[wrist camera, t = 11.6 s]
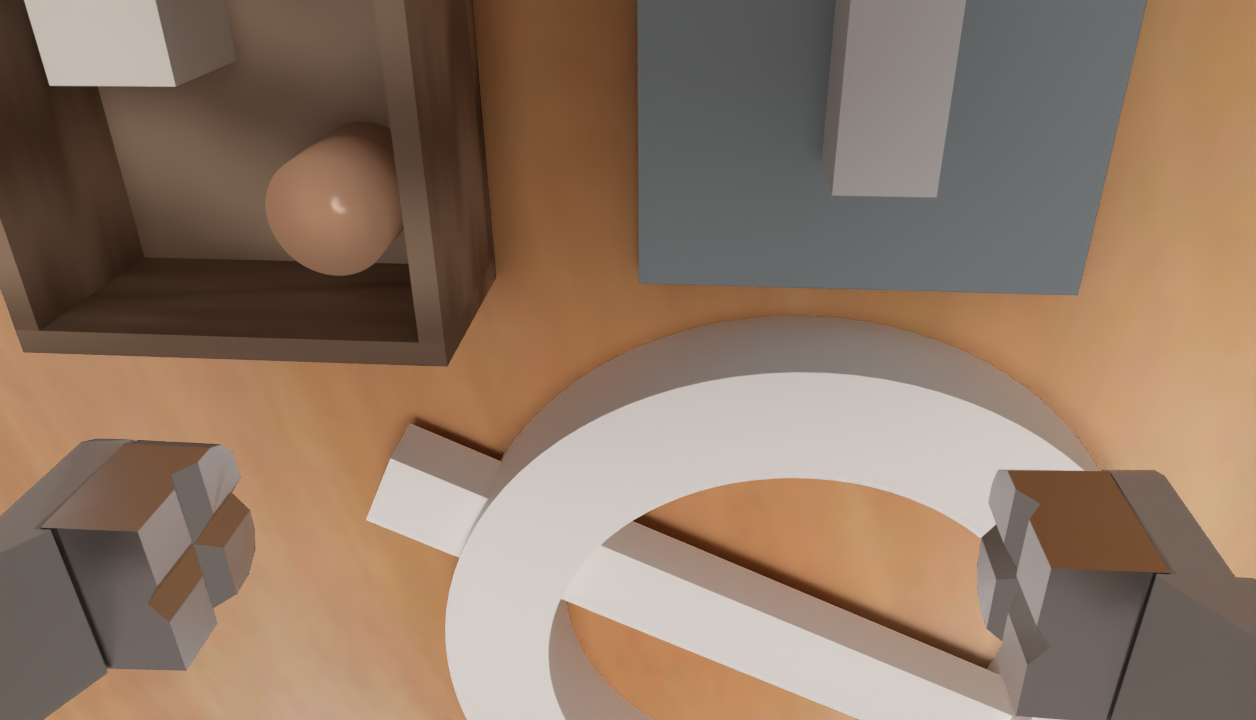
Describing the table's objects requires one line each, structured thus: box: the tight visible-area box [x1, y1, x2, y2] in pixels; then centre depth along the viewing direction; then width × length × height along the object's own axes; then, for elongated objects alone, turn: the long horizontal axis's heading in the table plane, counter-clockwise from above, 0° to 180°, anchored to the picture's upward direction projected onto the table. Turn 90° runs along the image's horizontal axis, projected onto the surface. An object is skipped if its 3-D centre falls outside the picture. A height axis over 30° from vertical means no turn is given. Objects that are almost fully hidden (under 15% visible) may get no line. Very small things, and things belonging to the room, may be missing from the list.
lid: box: [637, 0, 1147, 295], centre depth 29 cm, size 15×15×5 cm
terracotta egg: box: [265, 121, 404, 276], centre depth 31 cm, size 4×4×4 cm
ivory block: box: [24, 0, 237, 87], centre depth 29 cm, size 4×4×4 cm
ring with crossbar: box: [366, 316, 1099, 720], centre depth 40 cm, size 28×28×5 cm
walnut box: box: [0, 0, 496, 366], centre depth 30 cm, size 14×14×7 cm
